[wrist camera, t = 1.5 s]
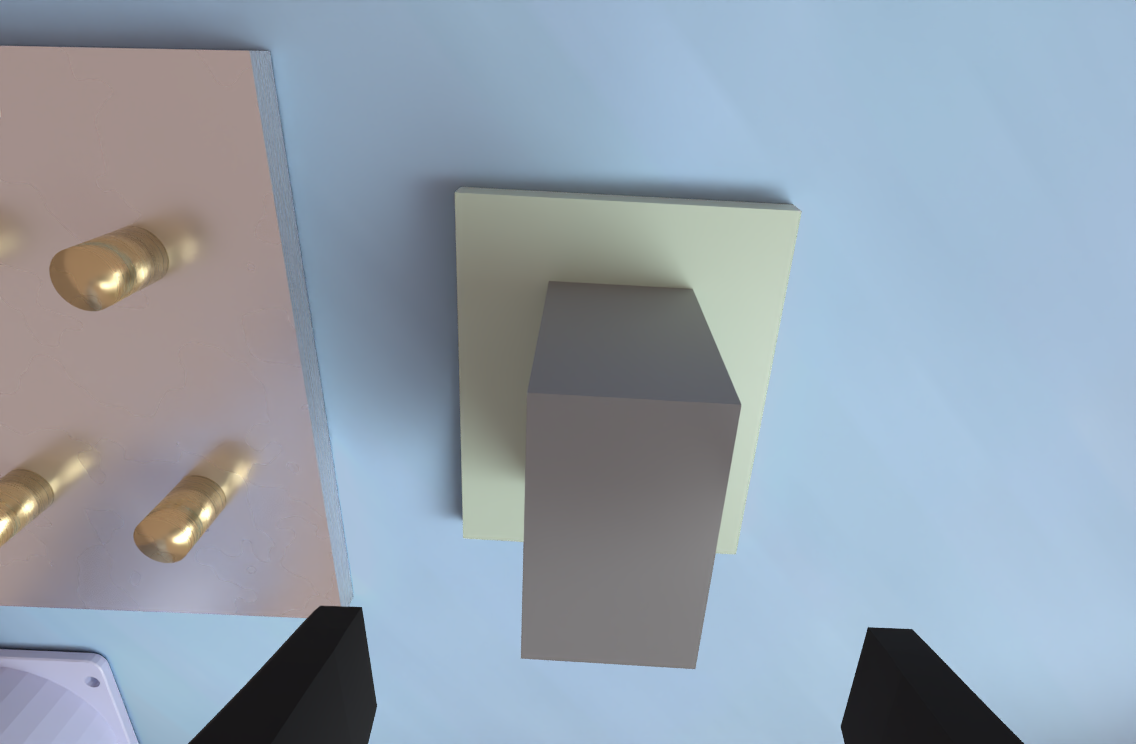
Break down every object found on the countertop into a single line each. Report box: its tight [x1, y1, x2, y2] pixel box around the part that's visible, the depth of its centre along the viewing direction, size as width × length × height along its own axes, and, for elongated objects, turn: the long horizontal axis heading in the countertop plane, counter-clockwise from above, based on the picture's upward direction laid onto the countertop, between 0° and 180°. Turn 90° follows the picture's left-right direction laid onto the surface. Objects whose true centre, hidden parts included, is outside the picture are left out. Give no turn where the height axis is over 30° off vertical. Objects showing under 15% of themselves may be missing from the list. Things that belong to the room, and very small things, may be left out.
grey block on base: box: [455, 187, 802, 669], centre depth 16 cm, size 10×8×7 cm
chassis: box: [0, 46, 353, 618], centre depth 17 cm, size 16×12×3 cm
